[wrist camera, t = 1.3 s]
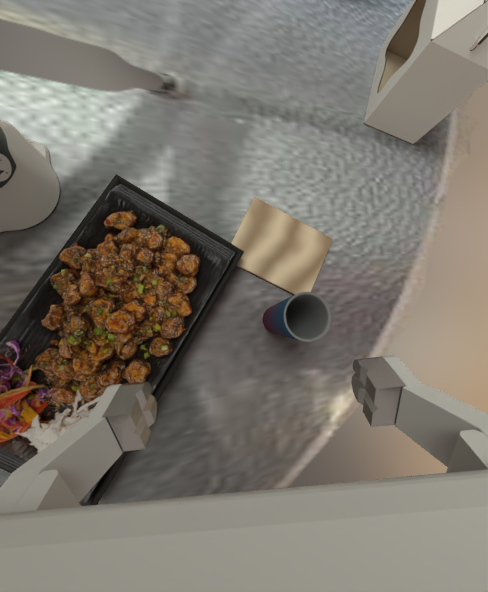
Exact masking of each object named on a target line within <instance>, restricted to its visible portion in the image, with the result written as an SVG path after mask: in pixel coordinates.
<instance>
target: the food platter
mask: <svg viewBox="0 0 488 592" xmlns="http://www.w3.org/2000/svg"><path fill="white" fill-rule="evenodd" d="M243 254H244V251H243V250H241V249H239V248H238V247H236V246H234V245H233V244H231V243H229V242H228V241H226V240H224V239H223V238H221V237H219V236H218V235H216V234H214V233H213V232H211V231H209V230H208V229H206V228H204V227H203V226H201V225H199V224H198V223H196V222H194V221H193V220H191V219H189V218H188V217H186V216H184V215H183V214H181V213H179V212H178V211H176V210H174V209H173V208H171V207H170V206H168V205H166V204H165V203H163V202H161V201H160V200H158V199H156V198H155V197H153V196H151V195H150V194H148V193H146V192H145V191H143V190H141V189H140V188H138V187H136V186H135V185H133V184H131V183H130V182H128V181H126V180H125V179H123V178H121V177H120V176H118V175H115V177H114V178H113V179H112V181H111V182H110V184H109V185H108V186H107V188H106V189H105V190H104V192H103V193H102V195H101V196H100V197H99V199H98V200H97V201H96V203H95V204H94V206H93V207H92V208H91V210H90V211H89V212H88V214H87V215H86V217H85V218H84V219H83V221H82V222H81V223H80V225H79V226H78V228H77V229H76V230H75V232H74V233H73V234H72V236H71V237H70V238H69V240H68V241H67V243H66V244H65V245H64V247H63V248H62V249H61V251H60V252H59V254H58V255H57V256H56V258H55V259H54V260H53V262H52V263H51V265H50V266H49V267H48V269H47V270H46V271H45V273H44V274H43V276H42V277H41V278H40V280H39V281H38V282H37V284H36V285H35V286H34V288H33V289H32V291H31V292H30V293H29V295H28V296H27V297H26V299H25V300H24V302H23V303H22V304H21V306H20V307H19V308H18V310H17V311H16V313H15V314H14V315H13V317H12V318H11V319H10V321H9V322H8V324H7V325H6V326H5V328H4V329H3V330H2V332H1V333H0V468H2V469H4V470H6V471H8V472H10V473H12V472H14V471H15V470H16V469H18V468H19V467H20V466H22V465H23V464H24V463H26V462H27V461H28V460H30V459H31V458H33V457H34V456H35V455H37V454H38V453H39V452H41V451H42V450H43V449H45V448H46V447H47V446H49V445H50V444H51V443H53V442H54V441H55V440H57V439H58V438H59V437H61V436H62V435H63V434H65V433H66V432H67V431H69V430H70V429H71V428H73V427H74V426H75V425H77V424H78V423H79V422H81V421H82V420H85V419H88V417H89V415H90V414H91V412H92V411H93V409H94V408H95V406H96V404H97V403H98V401H99V400H100V398H101V396H102V395H103V393H104V392H105V390H106V388H107V387H108V386H110V385H117V384H126V383H138V382H149V383H150V386H151V388H152V390H151V393H150V394H151V395H152V396H154V397H155V399H156V402H157V401H158V399H159V398H160V396H161V394H162V392H163V391H164V389H165V387H166V386H167V384H168V382H169V380H170V379H171V377H172V375H173V374H174V372H175V370H176V368H177V367H178V365H179V363H180V362H181V360H182V358H183V356H184V355H185V353H186V351H187V350H188V348H189V346H190V344H191V343H192V341H193V339H194V338H195V336H196V334H197V332H198V331H199V329H200V327H201V326H202V324H203V322H204V320H205V319H206V317H207V315H208V314H209V312H210V310H211V308H212V307H213V305H214V303H215V302H216V300H217V298H218V296H219V295H220V293H221V291H222V290H223V288H224V286H225V284H226V283H227V281H228V279H229V278H230V276H231V274H232V272H233V271H234V269H235V267H236V266H237V264H238V262H239V260H240V259H241V257H242V255H243ZM127 453H128V451H124V452H123V453H122V454H121V456H120V457H119V458H118V459H117V460H116V461H115V462H114V464H113V465H112V466H111V467H110V468H109V469H108V470H107V472H106V473H105V474H104V475H103V476H102V477H101V478H100V480H99V481H98V482H97V483H96V484H95V485H94V486H93V488H92V489H91V490H90V491H89V492H88V493H87V494H86V495H85V497H84V498H83V499H82V500H81V501H80V502H79V503H80V504H81V506H90V505H97V504H98V502H99V501H100V499H101V497H102V495H103V494H104V492H105V490H106V489H107V487H108V485H109V483H110V482H111V480H112V478H113V477H114V475H115V473H116V471H117V470H118V468H119V466H120V465H121V463H122V461H123V459H124V458H125V456H126V454H127Z"/></svg>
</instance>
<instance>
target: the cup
mask: <svg viewBox="0 0 488 592" xmlns="http://www.w3.org/2000/svg"><path fill="white" fill-rule="evenodd" d="M263 323H264V326H265V328H266V329H267V330H269V331H270V332H273V333H276V334H280V335H283V336H286V337H290V338H293V339H296V340H300V341H304V342H313V341H316V340H319V339H320V338H322V337H323V336H324V335H325V334H326V332H327V331H328V329H329V327H330V323H331V312H330V309H329V306H328V304H327V303H326V301H325V300H324V299H323V298H322V297H321V296H319V295H317V294H316V293H313V292H300V293H297V294H295V295H293V296H291V297H290V298H288V299H286V300H284V301H282V302H280V303H278V304H276V305H274V306H272V307H270V308H269V309H267V310H266V311H265V313H264V315H263Z"/></svg>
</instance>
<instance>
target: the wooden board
mask: <svg viewBox="0 0 488 592" xmlns="http://www.w3.org/2000/svg"><path fill="white" fill-rule="evenodd" d="M332 240H333V239H331V238H329V237H328V236H326V235H324V234H322V233H320V232H318V231H317V230H315V229H313V228H311V227H309V226H307V225H306V224H304V223H302V222H300V221H298V220H296V219H295V218H293V217H291V216H289V215H287V214H285V213H283V212H282V211H280V210H278V209H276V208H274V207H272V206H271V205H269V204H267V203H265V202H263V201H261V200H260V199H258V198H256V197H254V199H253V201H252V203H251V205H250V207H249V209H248V211H247V213H246V215H245V217H244V219H243V221H242V223H241V225H240V227H239V229H238V231H237V233H236V235H235V237H234V239H233V241H232V243H231V244H233V245H234V246H236V247H238V248H239V249H241V250H243V251H244V254H243V255H242V257H241V259H240V260H239V262H238V264H237V266H238V267H240V268H242V269H244V270H246V271H248V272H250V273H252V274H254V275H256V276H258V277H259V278H261V279H263V280H265V281H267V282H269V283H271V284H273V285H275V286H277V287H279V288H281V289H283V290H285V291H287V292H289V293H291V294H293V295H295V294H297V293H300V292H311V290H312V287H313V285H314V283H315V280H316V278H317V276H318V273H319V271H320V268H321V266H322V264H323V261H324V259H325V257H326V254H327V252H328V250H329V247H330V245H331V242H332Z"/></svg>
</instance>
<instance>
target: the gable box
mask: <svg viewBox="0 0 488 592" xmlns="http://www.w3.org/2000/svg"><path fill="white" fill-rule="evenodd" d="M477 39H478V45H477V46H476V47H475V48H474V49H473V50H470V47H471V46H472V45H473V43H474V42H475V41H476V40H477ZM487 81H488V0H411V2H410V3H409V5H408V6H407V8H406V9H405V11H404V13H403V14H402V16H401V17H400V19H399V20H398V22H397V23H396V25H395V26H394V28H393V29H392V31H391V33H390V34H389V36H388V37H387V39H386V40H385V42H384V43H383V45H382V46H381V49H380V53H379V58H378V62H377V66H376V71H375V75H374V80H373V84H372V88H371V93H370V97H369V102H368V106H367V110H366V115H365V119H364V124H367V125H369V126H371V127H374V128H376V129H378V130H381V131H383V132H385V133H388V134H390V135H393V136H395V137H397V138H400V139H402V140H404V141H407V142H409V143H411V144H414V143H415V142H417V141H418V140H419V139H420V138H421V137H423V136H424V135H425V134H426V133H427V132H428V131H430V130H431V129H432V128H433V127H434V126H435V125H437V124H438V123H439V122H440V121H441V120H443V119H444V118H445V117H446V116H447V115H448V114H450V113H451V112H452V111H453V110H454V109H455V108H457V107H458V106H459V105H460V104H461V103H462V102H464V101H465V100H466V99H467V98H468V97H470V96H471V95H472V94H473V93H474V92H475V91H476V90H478V89H479V88H480V87H481V86H482V85H484V84H485V83H486V82H487Z"/></svg>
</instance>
